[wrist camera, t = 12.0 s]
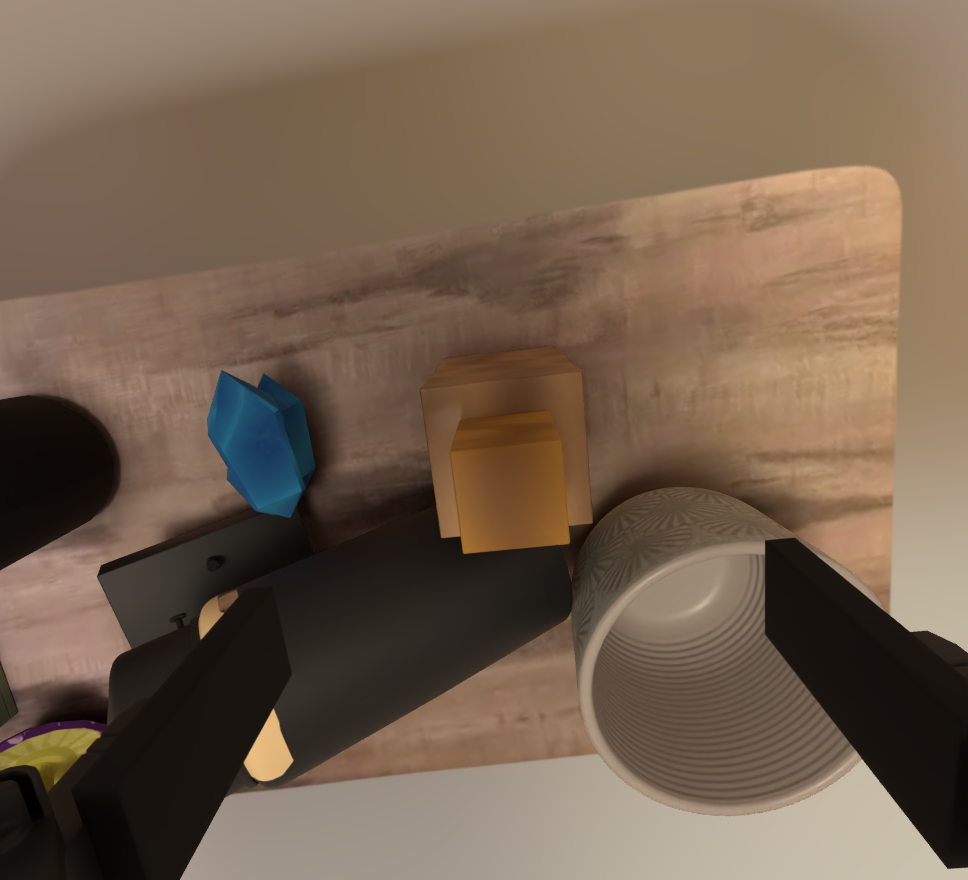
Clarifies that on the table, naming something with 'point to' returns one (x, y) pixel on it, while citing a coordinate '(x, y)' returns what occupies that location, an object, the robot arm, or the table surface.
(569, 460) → the stand
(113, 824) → the robot arm
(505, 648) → the light fixture
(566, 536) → the block
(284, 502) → the crystal
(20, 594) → the table surface
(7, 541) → the coffee jar
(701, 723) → the planter
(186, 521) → the table surface
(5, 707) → the cabinet
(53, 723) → the decorative mushroom
